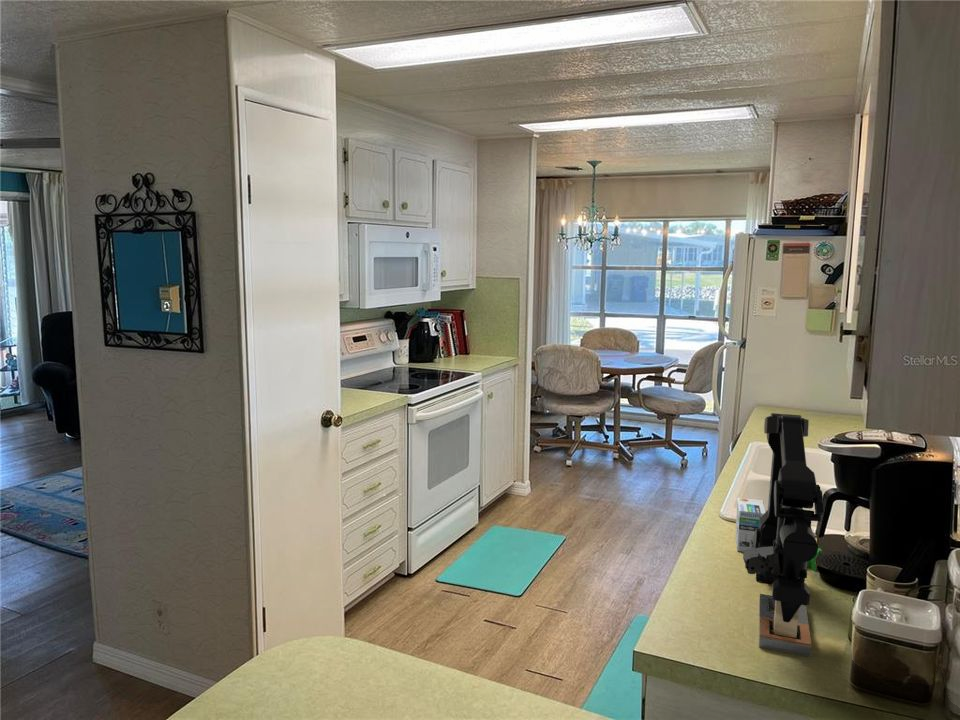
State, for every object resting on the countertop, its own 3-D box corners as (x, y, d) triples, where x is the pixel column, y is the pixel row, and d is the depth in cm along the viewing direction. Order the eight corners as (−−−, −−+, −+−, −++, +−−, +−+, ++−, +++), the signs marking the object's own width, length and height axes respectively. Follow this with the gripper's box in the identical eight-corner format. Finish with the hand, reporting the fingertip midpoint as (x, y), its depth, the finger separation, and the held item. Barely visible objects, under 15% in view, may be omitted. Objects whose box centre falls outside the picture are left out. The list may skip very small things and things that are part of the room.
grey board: (759, 602, 156) (759, 592, 156) (804, 610, 153) (805, 600, 153) (759, 647, 139) (759, 636, 138) (810, 657, 136) (811, 646, 135)
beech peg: (773, 623, 144) (776, 586, 142) (795, 627, 142) (798, 589, 141) (773, 633, 140) (776, 595, 139) (796, 638, 139) (799, 599, 137)
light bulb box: (764, 555, 180) (768, 514, 179) (736, 551, 182) (739, 510, 180) (761, 538, 190) (764, 499, 189) (734, 535, 192) (736, 496, 191)
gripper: (748, 517, 150) (742, 588, 152) (746, 552, 132) (740, 631, 135) (807, 525, 146) (800, 597, 148) (813, 562, 128) (805, 644, 131)
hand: (785, 616), depth 141 cm, fingers closed on beech peg, 4 cm apart
